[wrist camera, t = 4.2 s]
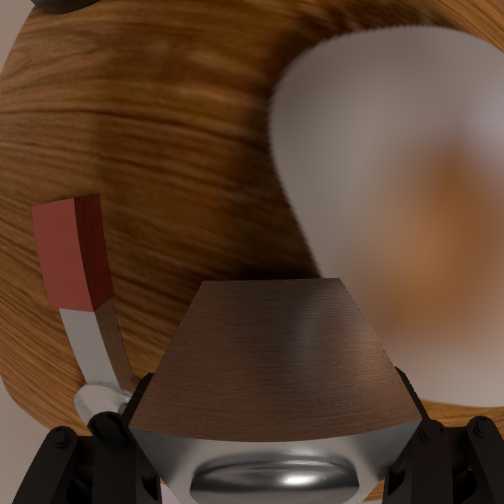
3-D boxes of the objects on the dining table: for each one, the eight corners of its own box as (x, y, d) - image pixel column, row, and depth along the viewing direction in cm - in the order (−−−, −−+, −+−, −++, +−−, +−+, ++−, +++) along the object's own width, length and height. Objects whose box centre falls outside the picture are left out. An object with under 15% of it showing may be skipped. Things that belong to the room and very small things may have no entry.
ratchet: (36, 205, 13) (-31, 222, 8) (132, 189, 13) (56, 200, 7) (107, 425, 19) (83, 470, 13) (186, 442, 18) (171, 497, 12)
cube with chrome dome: (203, 280, 12) (123, 436, 4) (339, 277, 12) (427, 428, 4) (216, 380, 14) (186, 517, 6) (326, 378, 13) (356, 514, 5)
